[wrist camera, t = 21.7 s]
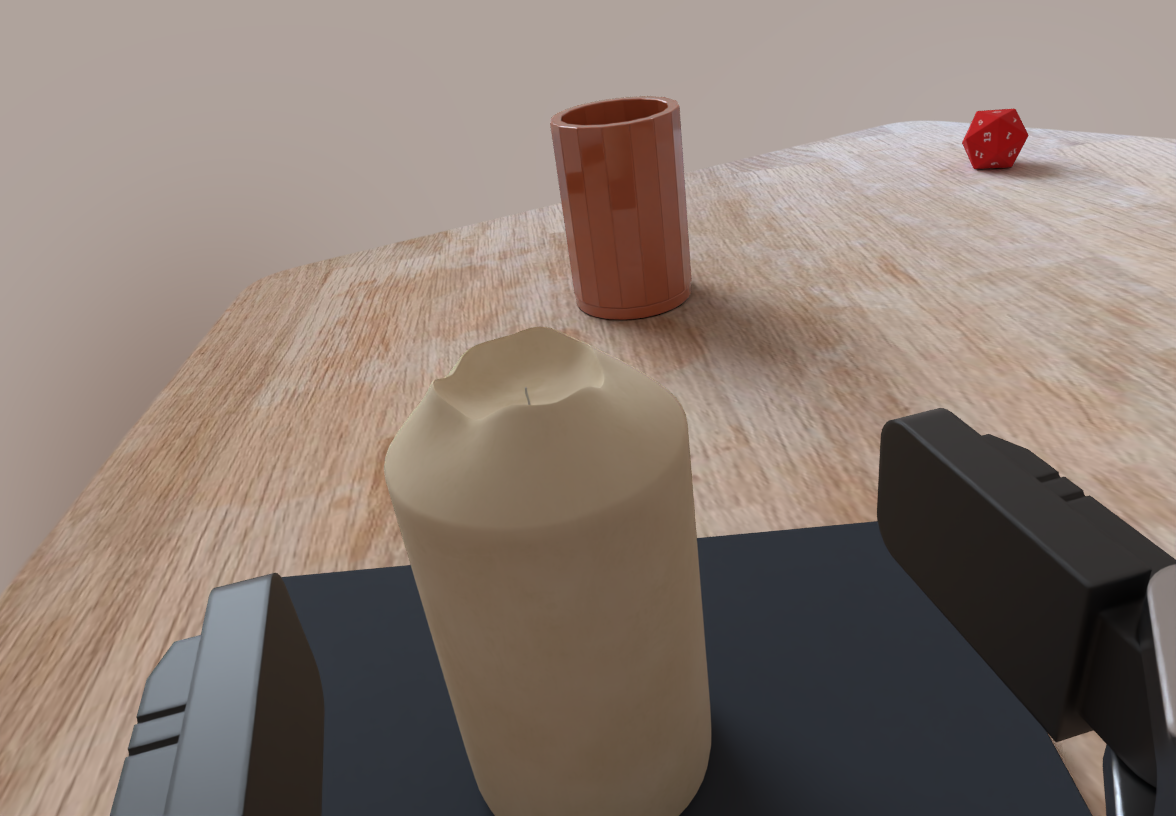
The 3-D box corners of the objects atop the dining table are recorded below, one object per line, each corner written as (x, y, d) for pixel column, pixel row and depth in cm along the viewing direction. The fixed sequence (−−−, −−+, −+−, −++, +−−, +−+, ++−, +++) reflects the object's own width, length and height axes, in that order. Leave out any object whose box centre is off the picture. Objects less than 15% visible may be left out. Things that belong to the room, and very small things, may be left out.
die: (972, 161, 52) (1014, 99, 50) (938, 149, 55) (977, 90, 53) (1011, 188, 53) (1053, 128, 52) (975, 175, 56) (1015, 118, 55)
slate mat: (19, 1144, 15) (6, 1132, 15) (276, 589, 27) (271, 577, 27) (1226, 1086, 14) (1233, 1071, 13) (928, 528, 26) (929, 515, 25)
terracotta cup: (575, 325, 41) (547, 134, 37) (577, 279, 46) (553, 106, 42) (697, 312, 41) (684, 116, 36) (685, 267, 46) (673, 90, 41)
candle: (748, 820, 18) (727, 405, 13) (485, 890, 17) (356, 484, 12) (674, 634, 23) (637, 277, 18) (465, 684, 22) (366, 330, 17)
